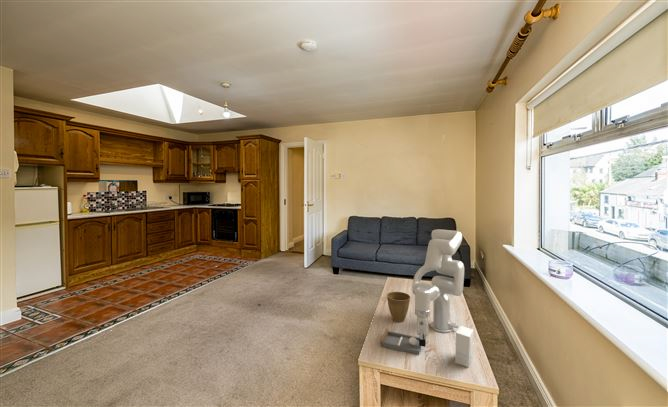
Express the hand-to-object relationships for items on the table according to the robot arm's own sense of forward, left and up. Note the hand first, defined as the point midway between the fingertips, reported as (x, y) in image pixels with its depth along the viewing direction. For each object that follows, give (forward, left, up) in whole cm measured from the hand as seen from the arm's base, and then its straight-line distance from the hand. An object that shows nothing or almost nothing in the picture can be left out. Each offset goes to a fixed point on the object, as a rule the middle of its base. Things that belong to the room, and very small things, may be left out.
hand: (422, 345), depth 144 cm
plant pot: (+18, -27, -2) cm, 33 cm away
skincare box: (-20, +3, -2) cm, 20 cm away
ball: (+5, 0, +1) cm, 5 cm away
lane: (+11, 0, -2) cm, 11 cm away
